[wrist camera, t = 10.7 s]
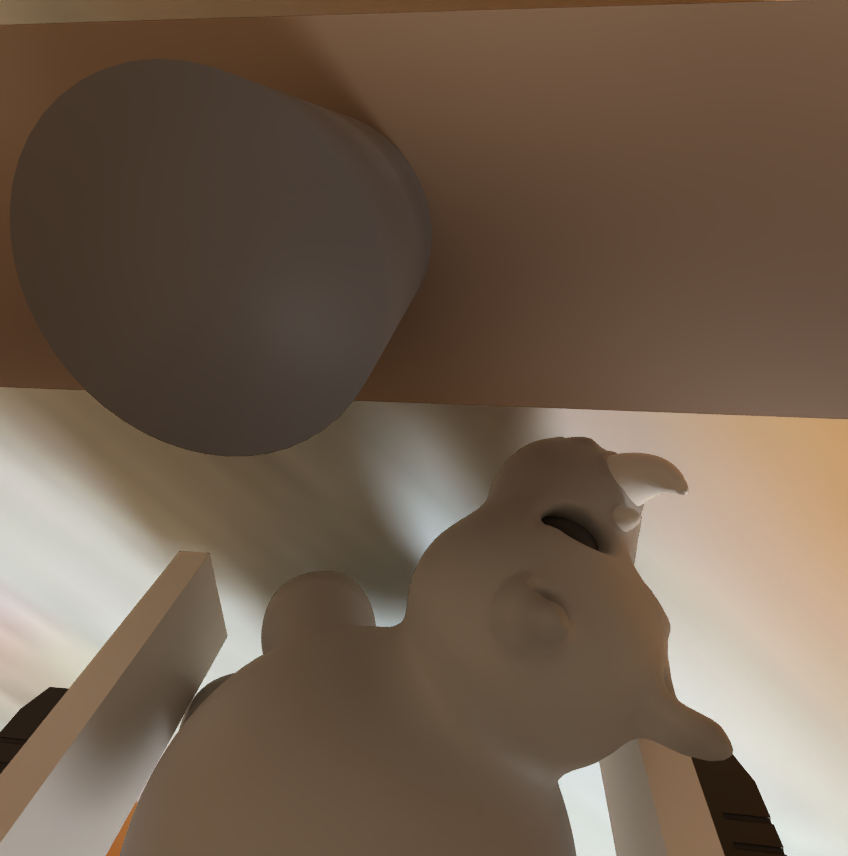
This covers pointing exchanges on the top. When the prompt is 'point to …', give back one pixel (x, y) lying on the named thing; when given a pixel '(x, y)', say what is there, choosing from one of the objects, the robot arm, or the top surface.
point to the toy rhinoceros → (441, 687)
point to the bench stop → (427, 214)
